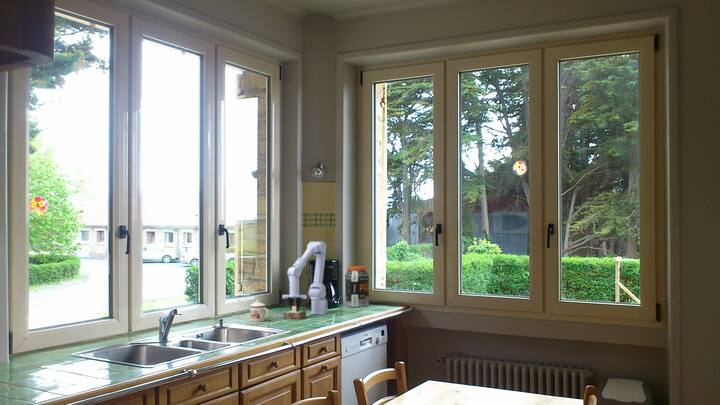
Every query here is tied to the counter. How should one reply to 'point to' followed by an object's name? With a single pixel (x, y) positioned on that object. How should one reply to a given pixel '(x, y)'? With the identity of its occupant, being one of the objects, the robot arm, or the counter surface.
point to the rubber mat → (277, 315)
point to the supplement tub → (357, 287)
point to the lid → (294, 310)
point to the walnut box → (295, 315)
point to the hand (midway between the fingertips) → (294, 310)
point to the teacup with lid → (258, 312)
